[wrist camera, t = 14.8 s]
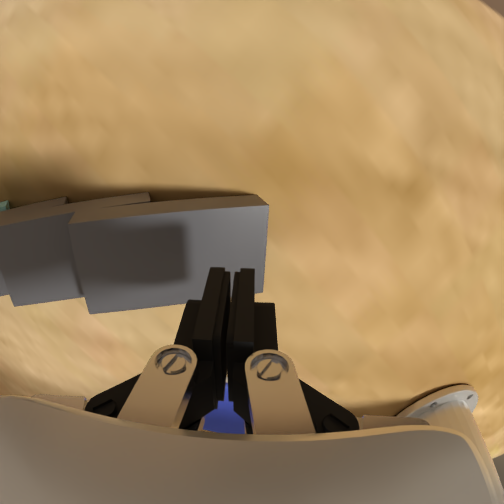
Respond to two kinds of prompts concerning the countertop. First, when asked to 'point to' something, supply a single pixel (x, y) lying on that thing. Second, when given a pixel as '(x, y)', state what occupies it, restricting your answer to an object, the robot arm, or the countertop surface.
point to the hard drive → (224, 418)
